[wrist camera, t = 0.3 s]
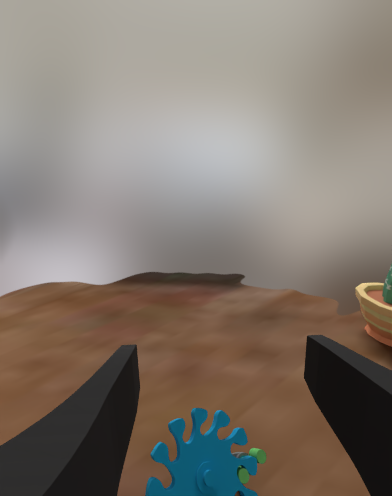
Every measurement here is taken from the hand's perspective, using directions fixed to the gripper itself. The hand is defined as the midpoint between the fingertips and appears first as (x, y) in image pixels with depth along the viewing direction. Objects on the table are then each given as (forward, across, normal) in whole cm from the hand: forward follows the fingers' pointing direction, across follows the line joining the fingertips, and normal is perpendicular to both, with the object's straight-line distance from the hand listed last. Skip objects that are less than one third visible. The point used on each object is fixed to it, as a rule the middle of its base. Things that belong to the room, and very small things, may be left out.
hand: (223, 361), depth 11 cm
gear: (+8, 0, +21) cm, 22 cm away
